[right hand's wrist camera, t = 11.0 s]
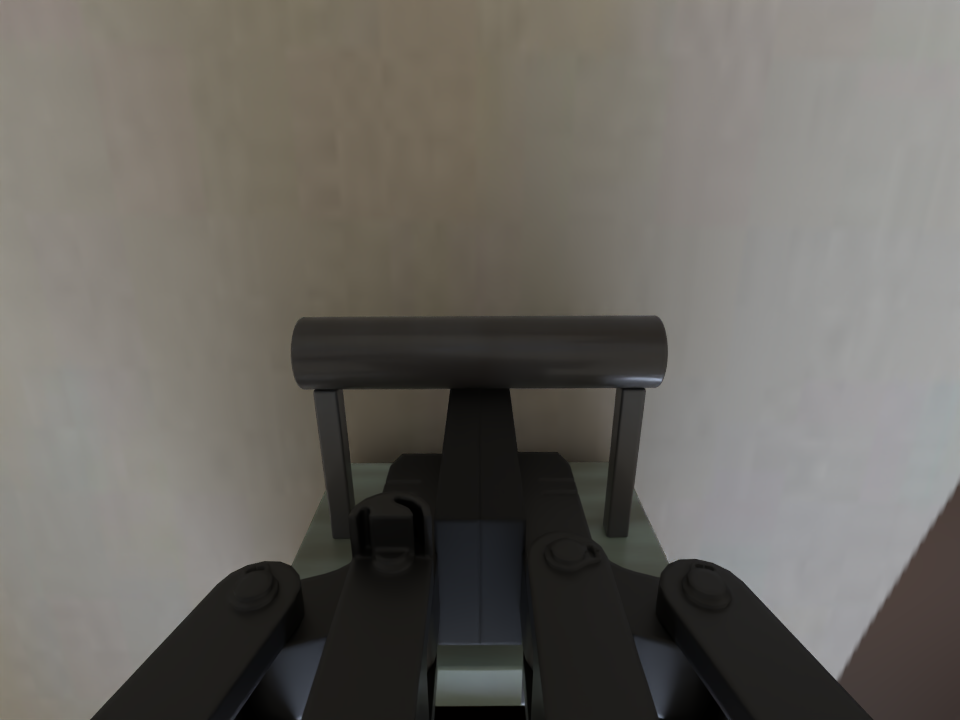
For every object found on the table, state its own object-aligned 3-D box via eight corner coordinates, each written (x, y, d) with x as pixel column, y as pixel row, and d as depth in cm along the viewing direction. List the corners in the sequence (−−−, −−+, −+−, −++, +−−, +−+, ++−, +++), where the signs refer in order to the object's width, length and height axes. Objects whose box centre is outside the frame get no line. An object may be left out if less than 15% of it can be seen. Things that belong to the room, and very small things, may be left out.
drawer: (315, 283, 16) (177, 394, 9) (641, 282, 16) (781, 391, 9) (373, 758, 24) (326, 1024, 17) (589, 757, 24) (638, 1022, 17)
